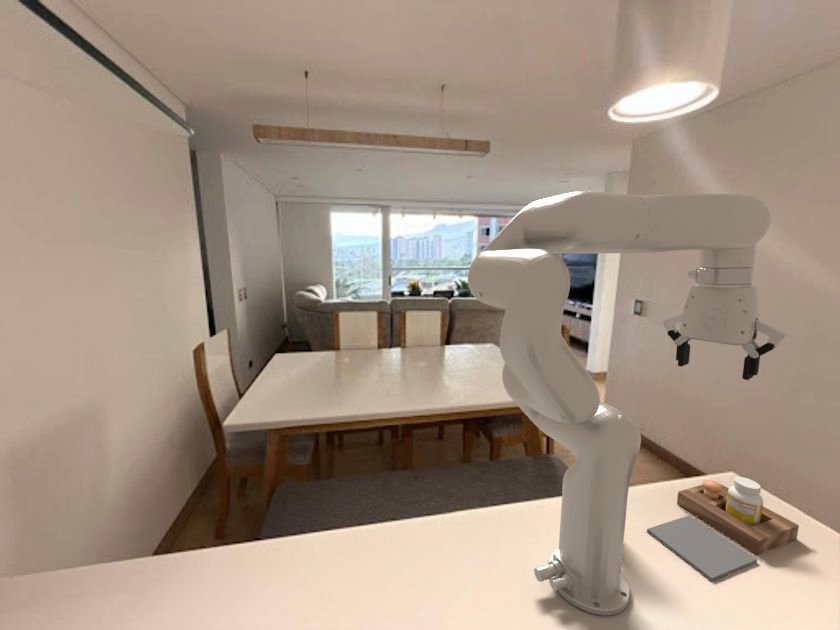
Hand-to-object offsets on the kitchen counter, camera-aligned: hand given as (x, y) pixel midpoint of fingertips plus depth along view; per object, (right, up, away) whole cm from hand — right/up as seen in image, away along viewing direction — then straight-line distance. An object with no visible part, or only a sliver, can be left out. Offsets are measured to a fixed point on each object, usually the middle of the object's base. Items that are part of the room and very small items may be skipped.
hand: (713, 371), depth 66 cm
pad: (-1, -34, +3) cm, 34 cm away
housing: (+12, -33, +10) cm, 36 cm away
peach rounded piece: (+10, -31, +14) cm, 35 cm away
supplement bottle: (+12, -33, +8) cm, 37 cm away
